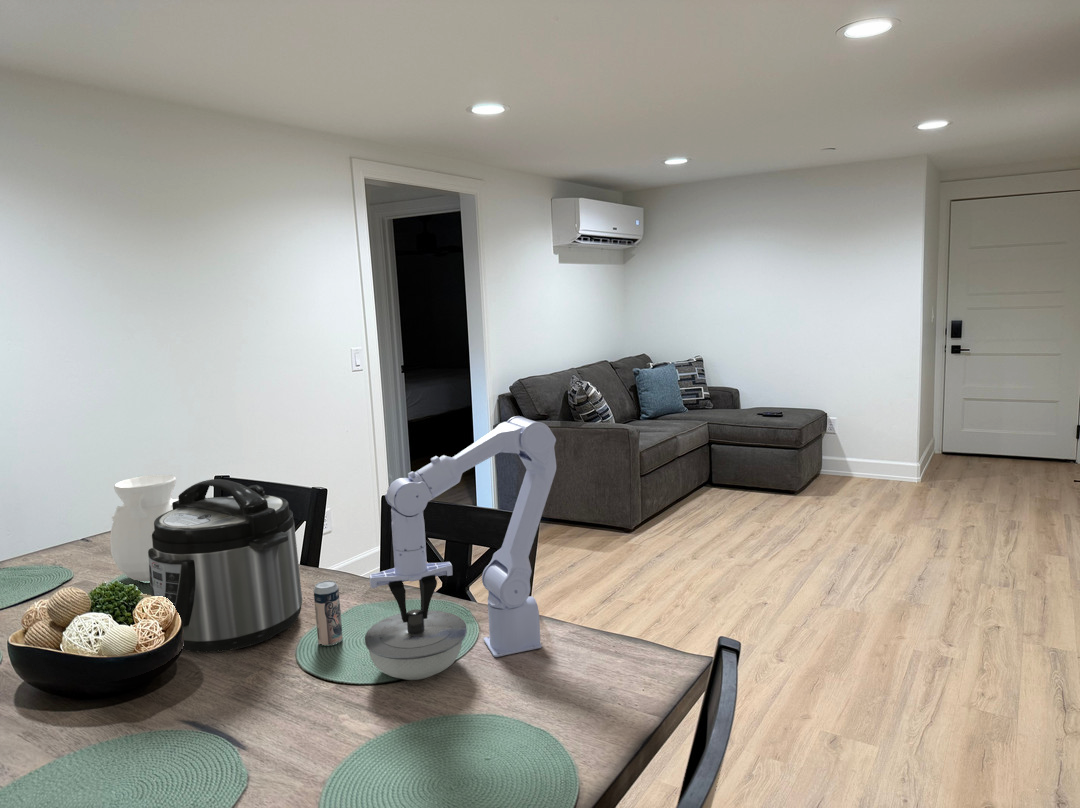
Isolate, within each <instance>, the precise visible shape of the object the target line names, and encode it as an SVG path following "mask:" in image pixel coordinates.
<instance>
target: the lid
mask: <svg viewBox="0 0 1080 808" xmlns="http://www.w3.org/2000/svg"><path fill="white" fill-rule="evenodd" d="M406 612H407V622H405V623H403V620H402V617H401V613H398V614H394V615H391V616H389V617H386V618H384V619H381V620H380V621H378V622H376V623H375V624H373V625H372V626H370V628H369V629H367V631H366V633H365V636H364V643H365V644H364V645H365V648H366V649H367V650H368V652H369V651H371V652H372V653H374V654H376V655H378V656H381V657H385V658H390V659H418V658H425V657H429V656H433V655H437V654H440V653H443V652H445V651H448V650H450V649H452V648H453V647H455V646H456V645H458V644H459V643H460V642H461V641H462V642H463V641H464V639H465V638H466V636H467V632H468V631H467V629H468V628H467V624H466V621H464V619H463V618H462V617H460V616H458V615H456V614H454V613H452V612H448V611H441V610H431V609H430V610H429V609H428V615H427V619H424V614H423V611H422V610H421V609H417V608H416V609H411V610H409V611H406Z"/></svg>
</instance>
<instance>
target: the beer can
mask: <svg viewBox="0 0 1080 808" xmlns="http://www.w3.org/2000/svg"><path fill="white" fill-rule="evenodd" d="M339 589H340V588H339V586H338V584H337V583H336V581H335V580H322V581H320V582H318V583H317V584H315V586H314V588H313V600H314V610H315V622H316V624H315V625H316V632H317V633H316V635H317V643H318V644H319V645H320V644H322V645H321V646H323V645H333V644H336V643H338V642H339V643H340V642H342V641H343V638H344V637H343V627H342V615H341V603H340V602H341V601H340V590H339ZM339 643H338V644H339ZM336 645H337V644H336ZM333 646H334V645H333Z"/></svg>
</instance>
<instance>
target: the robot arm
mask: <svg viewBox="0 0 1080 808" xmlns="http://www.w3.org/2000/svg"><path fill="white" fill-rule="evenodd" d="M556 442H557V438H556V436H555V435H554V433H553V432H552V430H551V429H550V427H549V426H548V425H547V424H546V423H544V422H540V421H535V420H532V419H530V418H529V419H528V418H526V417H524V416H522V415H521V416H520V415H516V416H512V417H510V418H509V419H508V420H507V421H503V422H501V423H499V424H498V425H496V427H494V428H493V429H492V430H491V431H489V432H488V433H486V434H485V435H483V436H482V437H480V438H479V439H478V440H476V441H474V442H473V443H471V444H470V445H468V446H467V447H466V448H464V449H462V450H461V451H459V452H458V453H457V454H454V456H452V457H451V456H447V455H445V454H443V455H441V456H440V457H439V456H437V455H435V456H433V457H431V458H430V463H428V464H426V465H424V466H422V467H421V468H420V469H417V470H416V471H410V472H408V473H407V476H408V477H399V478H397V479H395V480H393V481H392V482H391V483H390V485H389V487H388V488H387V490H386V493H385V494H384V497H385V501H386V502H387V504H388V505H389V506H391V509H390V512H391V513H390V514H391V535H392V549H393V551H392V552H393V564H394V567H393V568H389V569H386V570H382V571H379V572H374V573H369V574H368V576H369V585H370V588H371V589H375V588H378V587H380V586H386V585H388V587H389V590H390V592H391V594H392V596H393V597H394V599H395V601H396V602H397V606H398V608H399V611H400V614H401V617H402V620H403V623H405V622H407V612H408V611H407V603H406V601H407V600H406V589H405V583H404V582H417V581H418V582H419V583H418V584H419V592H420V593H419V594H420V610H422V611H423V614H424V619H427V615H428V610H429V607H430V603H431V600H432V597H433V595H434V593H435V590H436V588H437V585H438V581H437V577H441V576H447V577H449V576H453V565H452V563H451V562H450V561H444V562H428V561H427V545H426V531H425V530H426V528H425V519H424V510H425V509H426V507H427V505H428V503H429V502H430V501H432V500H434V499H435V498H437V497H438V496H440V495H441V494H443V493H444V492H446V491H448V490H450V489H451V488H453V487H454V486H456V485H457V484H459V483H460V482H461V479H462V476H463V473H465V472H466V471H469V470H470V469H472V468H474V467H476V466H477V465H479V464H482V463H483V462H485V461H487V460H489V459H491V458H492V457H494V456H496V455H497V454H499V453H505V454H508V453H509V454H517V455H518V457H519V459H520V460H521V462H522V464H523V465H524V467H525V470H526V471H525V473H524V477H523V480H522V483H521V486H520V489H519V492H518V496H517V498H516V501H515V505H514V508H513V511H512V514H511V517H510V520H509V523H508V526H507V530H506V533H505V536H504V538H503V542H502V545H501V547H499V549H497V551H495V552H494V553H493V554H492V558H491V560H490V562H489V563H488V565H486V566H485V567H484V569H483V571H482V575H481V582H482V586H483V588H485V589H486V590H487V591H488V595H487V612H488V613H487V616H488V617H487V619H488V631H489V632H488V633H489V636H485V637H483V642H484V643H485V645H486V646H487V648H488V650H490V652H491V654H492V656H493V657H495V658H498V657H504V656H508V655H513V654H518V653H523V652H528V651H532V650H537V649H541V648H543V645H542V643H541V628H540V627H541V624H540V610H539V606H538V603H537V600H536V598H535V597H534V596H531V595H530V593H531V582H530V581H531V580H530V579H531V577H532V567H531V562H530V559H529V557H530V553H531V551H532V546H533V544H534V540H535V537H536V535H537V531H538V528H539V525H540V522H541V519H542V516H543V513H544V510H545V506H546V503H547V500H548V497H549V494H550V491H551V488H552V484H553V483H554V478H555V475H556V472H557V460H556V453H555V452H556V450H555V445H556Z"/></svg>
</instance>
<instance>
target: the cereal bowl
mask: <svg viewBox="0 0 1080 808" xmlns="http://www.w3.org/2000/svg"><path fill="white" fill-rule="evenodd" d="M462 643H463V640H462V641H461V642H460V643H459V644H458V645H456V646H455V647H453V648H452V649H450V650H448V651H445V652H443V653H440V654H437V655H433V656H429V657H425V658H418V659H390V658H385V657H381V656H378V655H376V654H374V653H372V652H371V651H369V650H368V654H369V657H370V659H371V661H372V663H373V665H374V666H375V667H376V668H377V670H379V671H381V673H383V674H385V675H387V676H390V677H393V678H396V679H401V680H407V681H417V680H418V681H419V680H424V679H426V678H429V677H432V676H435V675H437V674H439V673H441V672H443V671H445V670H446V669H448V668H449V667H450V666H451V665H453V664H454V662H455V661H456V660H457V658H458V657H459V655H460V654H461V650H462V646H463V645H462Z"/></svg>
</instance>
